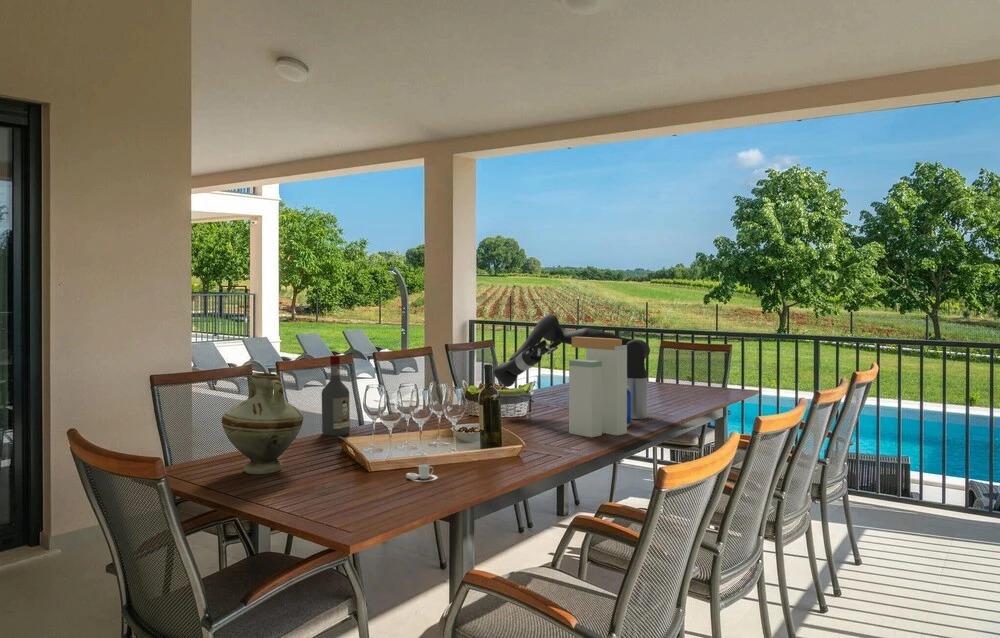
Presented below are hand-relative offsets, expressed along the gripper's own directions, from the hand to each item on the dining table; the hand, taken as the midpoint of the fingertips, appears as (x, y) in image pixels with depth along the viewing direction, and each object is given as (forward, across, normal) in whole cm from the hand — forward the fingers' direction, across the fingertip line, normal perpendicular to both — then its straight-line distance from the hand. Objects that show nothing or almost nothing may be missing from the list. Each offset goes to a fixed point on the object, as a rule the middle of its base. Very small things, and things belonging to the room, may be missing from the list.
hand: (552, 341), depth 296 cm
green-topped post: (+4, -8, +41) cm, 42 cm away
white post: (+6, +1, +42) cm, 43 cm away
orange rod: (+18, +1, +12) cm, 22 cm away
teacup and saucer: (+8, -91, +45) cm, 101 cm away
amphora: (-26, -120, +25) cm, 126 cm away
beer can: (+3, +15, +41) cm, 44 cm away
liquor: (-55, -75, +8) cm, 93 cm away
